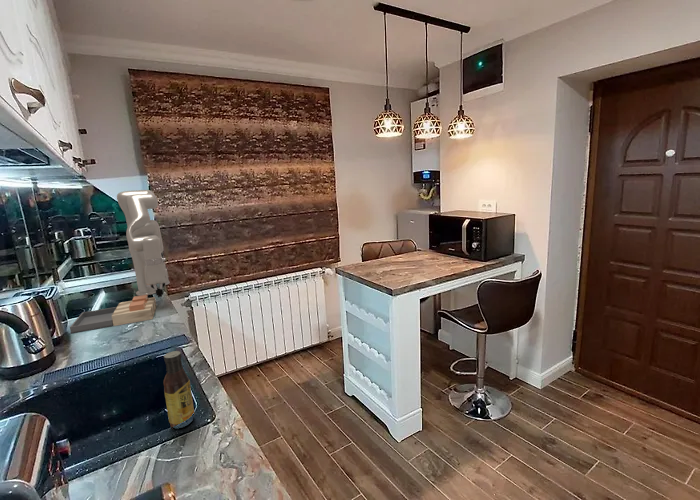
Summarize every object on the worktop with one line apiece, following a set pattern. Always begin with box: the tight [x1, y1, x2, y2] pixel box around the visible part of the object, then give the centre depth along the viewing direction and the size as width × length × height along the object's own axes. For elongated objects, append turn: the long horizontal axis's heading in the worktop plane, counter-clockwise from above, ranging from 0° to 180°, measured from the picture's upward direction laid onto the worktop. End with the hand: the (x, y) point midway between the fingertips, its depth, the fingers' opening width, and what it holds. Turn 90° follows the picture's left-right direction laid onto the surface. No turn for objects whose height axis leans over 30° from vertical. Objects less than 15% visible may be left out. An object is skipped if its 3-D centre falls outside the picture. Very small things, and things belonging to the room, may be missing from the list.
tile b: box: [129, 300, 146, 311], centre depth 174 cm, size 6×6×2 cm
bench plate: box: [112, 296, 157, 327], centre depth 179 cm, size 20×16×5 cm
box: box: [69, 306, 117, 334], centre depth 173 cm, size 20×16×3 cm
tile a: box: [131, 295, 149, 303], centre depth 183 cm, size 6×6×2 cm
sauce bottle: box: [163, 350, 195, 429], centre depth 95 cm, size 7×6×20 cm
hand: (160, 296), depth 186 cm, fingers closed
